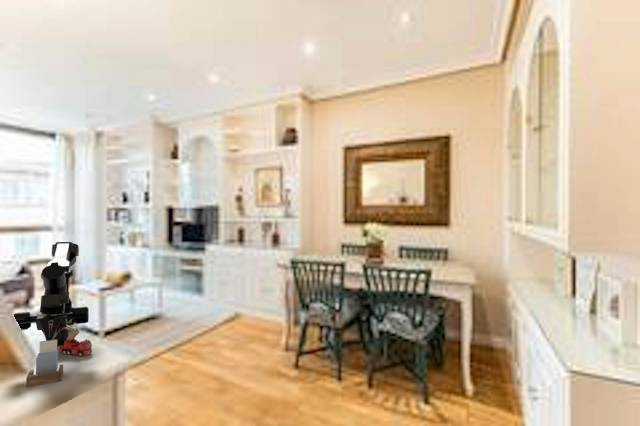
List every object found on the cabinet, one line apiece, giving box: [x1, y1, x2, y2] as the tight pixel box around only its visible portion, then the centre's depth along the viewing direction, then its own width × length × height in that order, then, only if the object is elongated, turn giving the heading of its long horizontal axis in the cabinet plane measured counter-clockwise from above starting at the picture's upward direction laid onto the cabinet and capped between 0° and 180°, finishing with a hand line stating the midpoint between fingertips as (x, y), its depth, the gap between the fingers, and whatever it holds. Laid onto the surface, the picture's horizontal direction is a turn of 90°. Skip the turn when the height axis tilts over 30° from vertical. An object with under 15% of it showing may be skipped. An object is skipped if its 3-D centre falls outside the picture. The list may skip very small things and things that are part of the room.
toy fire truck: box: [51, 322, 93, 357], centre depth 120 cm, size 3×14×10 cm, turn 78°
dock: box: [25, 364, 64, 388], centre depth 104 cm, size 11×8×2 cm, turn 30°
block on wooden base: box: [35, 340, 59, 375], centre depth 103 cm, size 4×4×9 cm
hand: (48, 344), depth 105 cm, fingers closed, pressing on block on wooden base
